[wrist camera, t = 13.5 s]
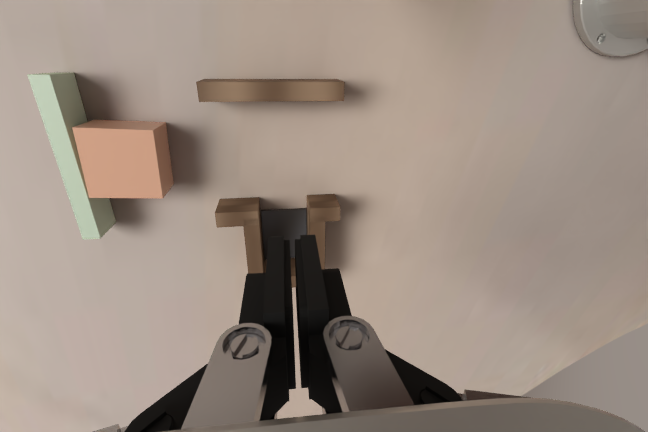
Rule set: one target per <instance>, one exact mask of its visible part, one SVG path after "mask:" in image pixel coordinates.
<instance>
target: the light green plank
mask: <svg viewBox="0 0 648 432" xmlns="http://www.w3.org/2000/svg"><path fill="white" fill-rule="evenodd" d="M28 78H29V81H30V84H31V87H32V90H33V93H34V96H35V99H36V102H37V105H38V108H39V111H40V114H41V117H42V120H43V123H44V126H45V129H46V132H47V135H48V138H49V141H50V144H51V146H52V149H53V152H54V155H55V158H56V161H57V164H58V167H59V170H60V173H61V176H62V179H63V182H64V185H65V188H66V191H67V194H68V197H69V200H70V203H71V206H72V209H73V212H74V215H75V218H76V221H77V224H78V226H79V229H80V232H81V235H82V238H83V240H84V239H101V237H102V236H103V235H104V234H105V233H106V232H107V231H108V230H109V229H110V228H111V227H112V226H113V225H114V224H115V222H116V220H115V217H114V213H113V210H112V206H111V202H110V199H109V198H89V195H88V191H87V187H86V183H85V179H84V174H83V170H82V166H81V162H80V158H79V154H78V150H77V145H76V141H75V137H74V133H73V129H72V127H75V126H78V125H80V124H83V123H86V122H88V121H87V118H86V114H85V110H84V107H83V103H82V100H81V96H80V93H79V89H78V86H77V82H76V79H75V75H74V73H42V74H29V75H28Z"/></svg>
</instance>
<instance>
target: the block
mask: <svg viewBox="0 0 648 432" xmlns="http://www.w3.org/2000/svg"><path fill="white" fill-rule="evenodd" d="M72 129H73V133H74V137H75V141H76V145H77V150H78V154H79V158H80V162H81V166H82V170H83V174H84V179H85V183H86V187H87V191H88V195H89V198H163V197H164V196H165V195H166V193H167V192H168V191H169V189H170V188H171V187H172V186H173V184H174V182H173V175H172V167H171V159H170V151H169V143H168V136H167V128H166V122H145V121H120V120H92V121H89V122H86V123H83V124H80V125H78V126H75V127H72Z"/></svg>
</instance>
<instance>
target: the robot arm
mask: <svg viewBox="0 0 648 432" xmlns="http://www.w3.org/2000/svg"><path fill="white" fill-rule="evenodd" d="M573 15H574V21H575V26H576V29H577V31H578V34H579V36H580V38H581V39H582V41H583V42H584V43H585V45H586V46H587V47H589V48H590V49H591V50H592V51H594V52H596V53H598V54H601V55H605V56H628V55H633V54H637V53H639V52H642V51H644V50H646V49H648V0H573ZM294 241H295V273H296V304H297V321H298V338H299V354H300V371H301V387H302V388H307V387H308V390H309V399H312V400H314V401H315V402H316V403H318V404H319V405H320V406H322V412H323V414H322V415H313V416H303V417H293V418H283V419H277V412H278V411H279V410H280V409H281V407H282V406H283V405H284V404H285V403H286V402H287V401H289V389H296V381H295V355H294V329H293V304H292V281H291V259H290V240H284V236H271V237H268V249H267V264H266V273H249V274H247V276H246V281H245V288H244V294H243V300H242V307H241V313H240V320H239V325H235V326H233V327H231V328H230V329H228V330H226V331H225V332H224V333H223V334H222V335H221V336H220V338H219V340H218V341H217V343H216V346H215V348H214V351H213V353H212V356H211V358H210V360H209V363H208V364H206V365H205V366H204V367H202V368H201V369H200V370H198V371H197V372H196V373H194V374H193V375H192V376H190V377H189V378H188V379H186V380H185V381H184V382H182V383H181V384H180V385H178V386H177V387H176V388H174V389H173V390H172V391H170V392H169V393H168V394H166V395H165V396H164V397H162V398H161V399H159V400H158V401H157V402H155V403H154V404H153V405H151V406H150V407H149V408H147V409H146V410H145V411H143V412H142V413H141V414H140V415H138V416H137V417H136V418H135V419H134V420H133V421H132V422H131V423H130V424H129V426H127V427H123V428H120V427H119V424H117V425H113V426H110V427H107V428H103V429H100V430H97V431H93V432H645V431H643V430H642V429H641V428H639V427H638V426H636V425H634V424H632V423H631V422H629V421H627V420H625V419H623V418H621V417H618V416H616V415H614V414H611V413H608V412H606V411H603V410H600V409H597V408H593V407H589V406H585V405H581V404H576V403H572V402H567V401H560V400H553V399H545V398H530V397H522V396H513V395H505V394H497V393H488V392H480V391H472V390H464V393H463V394H459V393H456V391H455V390H454V389H452V388H451V387H449V386H448V385H447V384H445V383H443V382H442V381H440V380H438V379H436V378H434V377H433V376H431V375H429V374H427V373H426V372H424V371H422V370H420V369H419V368H417V367H415V366H413V365H411V364H410V363H408V362H406V361H404V360H403V359H401V358H399V357H397V356H396V355H394V354H392V353H390V352H389V351H387V350H385V349H384V347H383V345H382V344H381V342H380V340H379V338H378V336H377V334H376V333H375V331H374V329H373V328H372V326H371V325H370V324H369V323H368V322H366V321H365V320H363V319H361V318H358V317H354V316H352V315H351V312H350V308H349V304H348V300H347V297H346V293H345V289H344V285H343V282H342V278H341V274H340V271H339V269H321V263H320V258H319V253H318V247H317V242H316V236H315V235H300V239H294Z"/></svg>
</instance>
